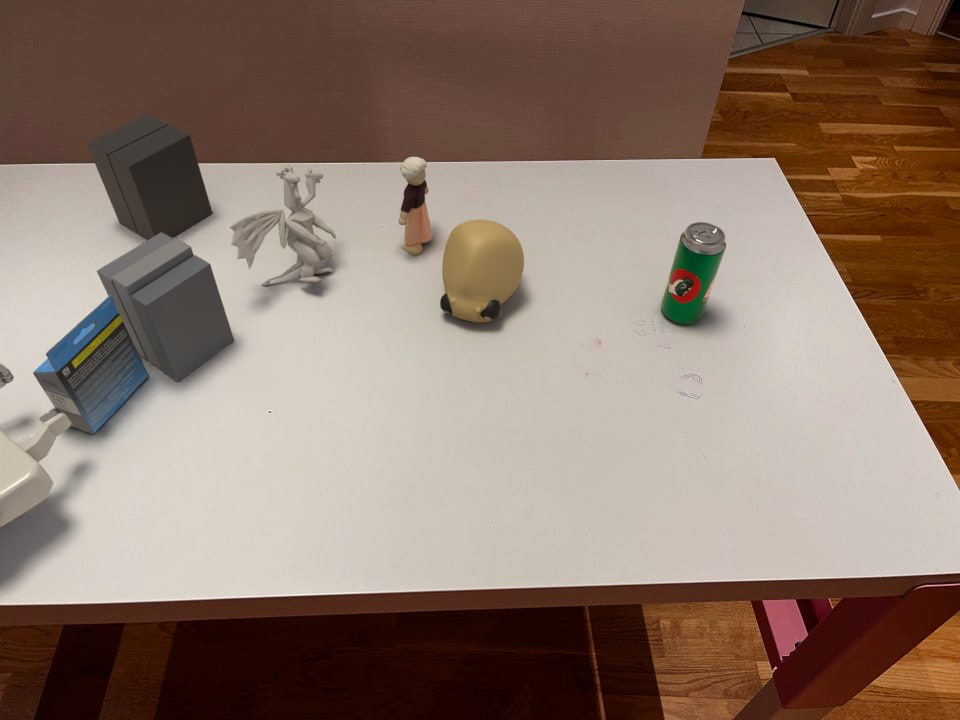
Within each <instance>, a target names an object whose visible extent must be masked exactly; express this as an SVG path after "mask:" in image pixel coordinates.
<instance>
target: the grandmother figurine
mask: <svg viewBox="0 0 960 720" xmlns="http://www.w3.org/2000/svg"><path fill="white" fill-rule="evenodd" d="M427 167H428V163H427V161H426V160H425V159H423V158H422V157H419V156H410V157H407V158H406V159H405V160H403V162H402V164H401V165H400V166H399V170H400V173H401V176H402V177H403V178H404V179H405V181H406V182H407V184H406V186H405V188H404V190H403V198H402V199H403V200H402V203H401V207H400V213H399V219H398V224H399V225H400V226H404V243H403V245H402V249H403V250H405V251H406V252H407V253H409V254H411V255H414V256H416V255H420V254H422V252H423V251H424V248H423V247H424V246H423V245H422V244H427V243H428V242H430V241H431V240H432V239H433V231H432V226H431V221H430V216H429V211H428V206H427V203H426V195H428V193H429V188H428V182H427V180H426V175H427V173H426V168H427Z"/></svg>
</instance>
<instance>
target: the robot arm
mask: <svg viewBox="0 0 960 720" xmlns="http://www.w3.org/2000/svg"><path fill="white" fill-rule="evenodd" d="M14 379H15V377H14V375H13V373H12V372H11V370H10V369H9V368H8V367H7V366H5V365H4V364H3V363H2V362H0V390H1V389H3V388H4V387H5V386H6V385H8V384H10V383H12V382H13V381H14ZM39 421H40V422H41V425H40V427H39V428H38V429H37V431H36V432H35V434H34V435H33V437H32V438H31V437H30V436H29V435H26V436H25V437H23V438H22V439H21V440H19V441H17V442H15V440H13V439H12V438H11V437H10V436H8V435H7V434H6V433H5V432H4V431H3V430H1V429H0V528H1V527H3V526H5V525H7V524H9V523H10V522H12V521H14V520H16V519H17V518H19V517H20V516H22V515H23V514H25V513H27V512H28V511H30V510H31V509H33V508H34V507H36V506H37V505H39V504H40V503H42V502H43V501H44V500H46V499H47V498H48V497H49V496H50V494H51V491H52V489H53V487H54V481H53V479H52V477H51V476H50V475H49V473H48V472H47V470H46V469H45V467H43V465H42V464H41V463H40V461H42V460H44V459H45V458H46V457H47V456H48V455H49V453H50V451H51V449H52V447H53V445H54V444H55V441H56V439H57V437H58V436H60V435H61V434H62V433H64V432H65V431H67V430H68V429H69V428H70V427H71V422H70V420H69V418H68V417H67V416H66V415H65V414H64V413H62V412H61V411H60V410H59V409H57V408H55V407H54V408H51V409H50V410H49V411H48V412H47V413H44V414H43V415H41V416H40V417H39Z"/></svg>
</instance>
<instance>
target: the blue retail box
mask: <svg viewBox="0 0 960 720" xmlns="http://www.w3.org/2000/svg"><path fill="white" fill-rule="evenodd" d="M45 355H46V357H47V358H46V360H45V361H44V362H42V363H41V364H40V365H39V366H38V367H37V368H35V370H34V371H33V372H32V374H33V376H34V378H35V379H36V381H37V382H38V384H39V386H40V387H41V388H42V390H43V392H44V393H45V394H46V397H48V399H49V401H50V402H51V404H52V405H53V407H54V408H57V409H59V410H60V411H61V412H62V413H64V414H65V415H66V416H67V417H68V418H69V420H70V422H71V426H70V427H71V428H74V429H76V430H80V431H81V432H82V431H83V432H86V433H89V434H91V435H94V434H96V433H97V431H99V429H101V428H102V426H103V425H104V424H105V423H106V422H107V421H108V420H109V419H110V418H111V417H112V416H113V415H114V413H116V412H117V410H118V409H119V408H120V407H121V406H122V405H123V404H124V403H125V401H127V400H128V398H130V397H131V395H132V394H133V393H134V392H136V390H137V389H138V388H139V387H140V386H141V385H142V384H143V383H144V382H145V381H146V380H147V378H148V377H150V374H149V372H148V370H147V368H146V366H145V364H144V362H143V360H142V357H141V356H140V355H139V353H138V351H137V349H136V347H135V345H134V343H133V341H132V339H131V337H130V335H129V333H128V331H127V328H126V326H125V324H124V322H123V320H122V318H121V316H120V314H119V312H118V311H117V308H116V306H115V303H114V301H113V298H112V295H109V296H108V295H107V297H106V298H105V299H104V300H103V301H102V302H100V303H99V304H98V306H96V307H95V308H94V309H93V310H91V312H90V313H89V314H87V315H86V316H85V317H84V318H82V320H81V321H79V322H78V323H77V324H76V325H75V326H74V327H73V328H71V330H69V332H67V334H65V335H64V336H63V337H62V338H61V339H60V340H59V341H57V342H56V343H55V344H54V345H53V346H52V347H51V348H49V349H48V350H47V352H45Z"/></svg>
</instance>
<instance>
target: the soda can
mask: <svg viewBox="0 0 960 720" xmlns="http://www.w3.org/2000/svg"><path fill="white" fill-rule="evenodd" d="M726 248H727V242H726V233H725V232H724V230H723V229H722V228H720V227H719V226H718V225H715V224H713V223H710V222H707V221H706V222H705V221H698V222H697V221H696V222H693V223H690V224H689V225H687V226H686V229H685V230H684V231H683V232H681V234H680V237H679V240H678V244H677V247H676V251H675V254H674V258H673V261H672V265H671V269H670V272H669V275H668V279H667V282H666V285H665V289H664V292H663V297H662V300H661V304H660V308H661V311H662V313H663V314H664V316H665V317H666V318H667V319H668V320H670V321H671V322H674V323H677V324H681V325H688V324H693V323H695V322H697V321H699V320H700V319H701V318H702V317H703V316H704V312H705V309H706V306H707V304H708V300H709V297H710V296H711V295H710V294H711V292H712V288H713V287H714V283H715V281H716V277H717V274H718V272H719V268H720V265H721V263H722V260H723V257H724V254H725V252H726Z"/></svg>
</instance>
